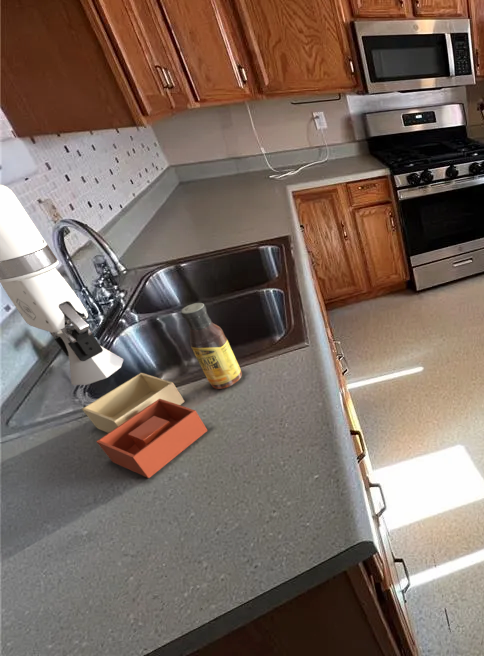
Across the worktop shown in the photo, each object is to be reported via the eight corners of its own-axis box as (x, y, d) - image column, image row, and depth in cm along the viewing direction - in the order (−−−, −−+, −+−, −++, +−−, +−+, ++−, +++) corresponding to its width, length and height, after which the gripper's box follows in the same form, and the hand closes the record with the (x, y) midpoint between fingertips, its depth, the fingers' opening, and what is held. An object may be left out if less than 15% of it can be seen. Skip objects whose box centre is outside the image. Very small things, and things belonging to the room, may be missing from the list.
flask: (63, 390, 73) (28, 345, 68) (88, 365, 79) (58, 321, 74) (110, 381, 74) (79, 336, 70) (132, 356, 80) (104, 313, 76)
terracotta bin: (112, 462, 76) (95, 441, 74) (172, 418, 85) (159, 398, 82) (148, 478, 72) (132, 457, 70) (207, 430, 81) (195, 410, 78)
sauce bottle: (205, 389, 92) (163, 315, 83) (228, 370, 97) (191, 298, 88) (229, 392, 90) (188, 317, 81) (251, 373, 96) (215, 300, 86)
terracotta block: (140, 450, 77) (127, 434, 75) (165, 432, 81) (153, 415, 79) (155, 457, 76) (142, 440, 74) (179, 437, 79) (168, 421, 77)
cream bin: (97, 428, 84) (81, 408, 81) (153, 391, 93) (141, 372, 90) (129, 441, 80) (114, 421, 78) (184, 401, 89) (173, 382, 86)
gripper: (-36, 268, 66) (35, 358, 74) (16, 280, 60) (86, 377, 69) (26, 248, 72) (85, 334, 80) (79, 258, 66) (136, 349, 75)
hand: (85, 353), depth 74 cm, fingers closed on flask, 3 cm apart
